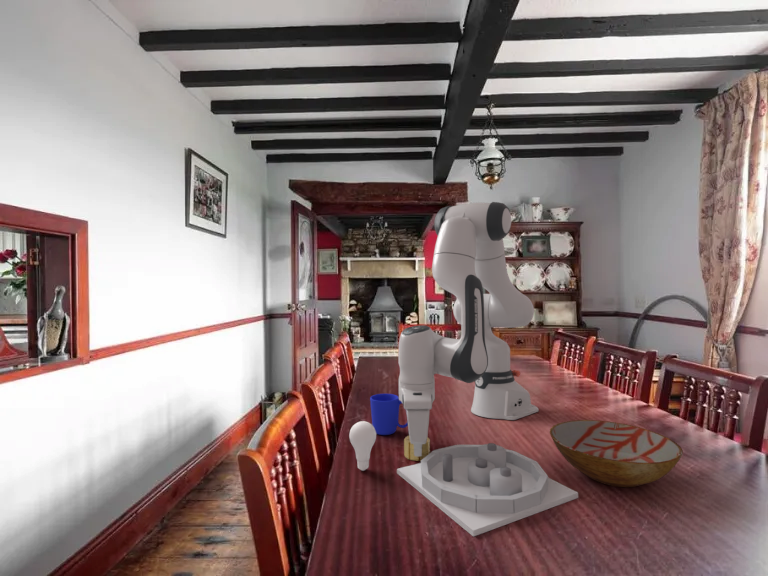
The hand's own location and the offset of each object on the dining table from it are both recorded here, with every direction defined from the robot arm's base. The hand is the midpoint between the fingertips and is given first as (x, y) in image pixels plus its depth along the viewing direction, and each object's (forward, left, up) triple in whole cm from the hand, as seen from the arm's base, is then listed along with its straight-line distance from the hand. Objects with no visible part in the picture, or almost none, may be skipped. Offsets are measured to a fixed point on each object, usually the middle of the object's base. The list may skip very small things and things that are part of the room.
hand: (417, 448), depth 100 cm
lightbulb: (+15, +1, -2) cm, 15 cm away
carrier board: (-4, +19, -2) cm, 19 cm away
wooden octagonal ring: (0, 0, -2) cm, 2 cm away
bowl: (-32, +29, -2) cm, 43 cm away
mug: (-2, -17, -2) cm, 17 cm away
